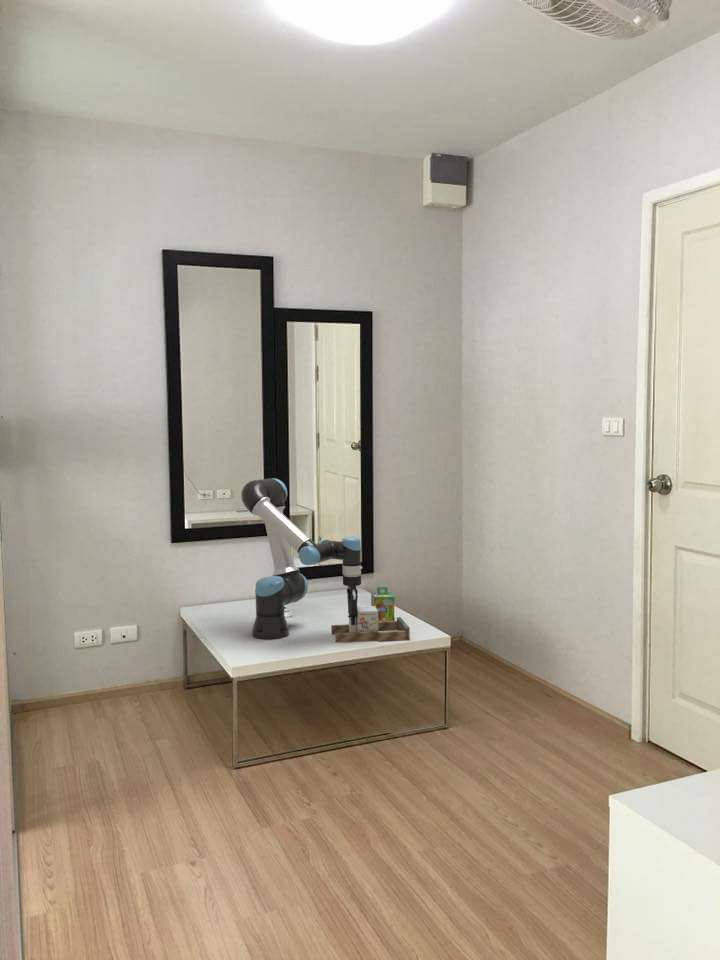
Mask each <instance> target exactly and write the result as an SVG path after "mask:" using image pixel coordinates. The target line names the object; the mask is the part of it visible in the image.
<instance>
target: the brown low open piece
mask: <svg viewBox="0 0 720 960" xmlns="http://www.w3.org/2000/svg"><path fill="white" fill-rule="evenodd" d="M330 627H331V628H330V629H331V633H332V634H331V633H330V634H331V635H335V637H334V639H335V640H334V641H335V643H336V642H339V643H338V644H340V642H342V643H357V642H374V641H375V642H376V641H378V642H394V641H395V642H396V641H409V640H411V639H410V638H411V637H410V636H411V635H410V634H411V633H410V629H411V628H410V627H409V625H408V624H407V622H405V621H404V620H403V618H402V617H401V616H399V617H396V620H394V621H384V622H378V632H377V631H368V632H349V623H348V624H332V625H330Z"/></svg>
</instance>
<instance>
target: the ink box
mask: <svg viewBox="0 0 720 960" xmlns="http://www.w3.org/2000/svg"><path fill="white" fill-rule="evenodd" d="M368 631H377V632H379V631H378V610H377V608H376V607H375V606H371V605H367V606H362V605H361V606H358V605H357V617H356V632H368Z"/></svg>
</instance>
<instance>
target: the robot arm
mask: <svg viewBox="0 0 720 960" xmlns="http://www.w3.org/2000/svg"><path fill="white" fill-rule="evenodd" d="M240 495H241V501H242V504H243V505H244V507H245V508H246V510H248V512H249V513H250V514H252V515H253V516H256V517H258V518H260V519H261V520H262V521H263V522H264V525H265V529H266V534H267V539H268V544H269V548H270V553H271V558H272V562H273V567H274V572H273V573H272V575H269V576H264V577H261V578H260V579H258V580H257V581H256V583H255V591H254V592H255V619H254V622H253V623H254V624H253V626H252V631H251V633H252V634H251V636H252V637H253V638H257V639H262V640H275V639H282V638H286V637H287V636H288V635H289V634H290V629H289V624H288V623H287V619H286V617H285V606H286V605H289V604H293V603H297V602H299V601H300V600H302V599H303V598H305V597H306V595H307V593H308V589H309V585H308V580H307V577H306V576H304V575H303V574H302V573H301V572H300V568H299V567H298V566H296V565H295V561H294V558H293V557H294V556H293V552H292V549H293V550H294V551H295V552H296V553H298V559H299V560H300V561H299V562H300V563H301V564H302V565H305V566H312V565H317V564H319V563H322V562H326V561H330V560H338V561H342V575H343V576H342V585H343V586H346V587H347V588H346V593H347V610H348V611H347V613H348V615H347V617H348V624H349V632H356V617H357V606H358V597H359V596H358V593H359V591H358V589H357V587H358V586H361V585H362V576H361V574H362V569H363V566H362V556H361V555H362V546H361V544H362V543H361V539H360V537H357V536H345V537H342V539H341V541H339V540H329V539H321V540H318V542H317V543H316V542H314V541H313V540H312V539H311V538H309V536H308V535H307V534H306V533H304V531H303V530H301V529H300V527H298V526H297V525H296V524H295V523H293V522H292V520H290V519H289V518H288V517H287V516H286V515H285V514H284V509H285V508H286V504H285V502H286V500H287V497H288V489H287V487H286V485H285V483H284V482H283V481H282V480H280V479H278V478H273V477H272V478H271V477H269V478H263V479H254V480H250V481H248V482H247V483H246V484H245V485H244V486H243V487H242V490H241V494H240Z"/></svg>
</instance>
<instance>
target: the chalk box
mask: <svg viewBox="0 0 720 960" xmlns="http://www.w3.org/2000/svg"><path fill="white" fill-rule="evenodd" d="M381 590H384V592H381ZM370 596H371V597H370V598H371V599H370V600H371V601H370V603H371V604H370V606H375V607H376V608H377V610H378V622H384V621H395V596H394V595H393V594H392V593H391V592H389V591H388V586H378V587H376V592H371V594H370Z"/></svg>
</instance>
